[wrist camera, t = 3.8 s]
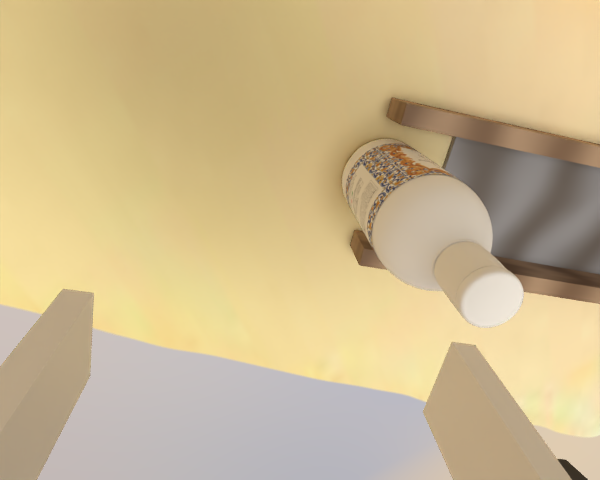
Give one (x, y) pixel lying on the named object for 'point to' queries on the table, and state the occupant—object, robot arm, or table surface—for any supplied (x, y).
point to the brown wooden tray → (521, 198)
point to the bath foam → (430, 230)
